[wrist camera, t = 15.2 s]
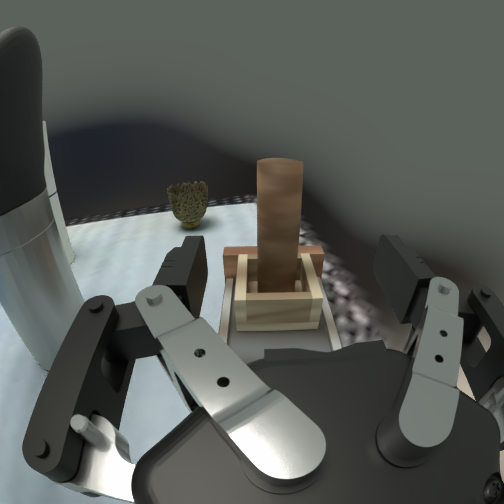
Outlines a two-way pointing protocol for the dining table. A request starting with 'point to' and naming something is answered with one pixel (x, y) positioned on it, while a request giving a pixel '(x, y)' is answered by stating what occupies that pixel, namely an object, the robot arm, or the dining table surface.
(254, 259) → the sliding block
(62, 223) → the cylindrical container
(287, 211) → the dowel
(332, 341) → the rail board
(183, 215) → the cup
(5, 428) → the dining table surface
